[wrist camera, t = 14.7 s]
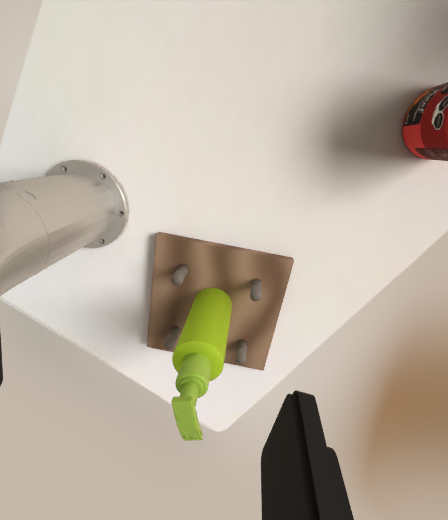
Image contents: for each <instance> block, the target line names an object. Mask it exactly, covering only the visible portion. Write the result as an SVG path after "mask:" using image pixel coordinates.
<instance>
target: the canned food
mask: <svg viewBox="0 0 448 520" xmlns="http://www.w3.org/2000/svg"><path fill="white" fill-rule="evenodd" d="M402 135H403V140H404V142H405V144H406V146H407V147H408V149H409V150H410V151H411V152H412V153H413V154H415V155H416V156H418V157H420V158H424V159H431V160H443V161H448V83H445V84H442V85H439V86H436V87H434V88H432V89H429V90H428V91H426V92H425V93H423V94H422V95H421V96H420V97H418V98H417V99H416V100H415V102H414V103H413V104H412V105H411V106H410V108H409V110H408V111H407V113H406V115H405V118H404V121H403V126H402Z"/></svg>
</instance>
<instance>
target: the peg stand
mask: <svg viewBox="0 0 448 520" xmlns="http://www.w3.org/2000/svg"><path fill="white" fill-rule="evenodd" d="M293 263H294V261H293V258H291V257H286V256H281V255H275V254H270V253H265V252H260V251H255V250H250V249H244V248H239V247H234V246H229V245H224V244H219V243H213V242H208V241H203V240H198V239H193V238H188V237H182V236H177V235H172V234H167V233H162V232H159V233H158V234H157V235H156V246H155V257H154V269H153V281H152V292H151V304H150V316H149V327H148V339H147V347H151V348H156V349H161V350H166V351H171V352H174V351H175V348H176V346H177V343H178V341H179V338H180V336H181V333H182V330H183V328H184V325H185V323H186V320H187V318H188V315H189V313H190V310H191V308H192V305H193V303H194V300H195V297H196V296H197V294H198V293H199V292H200V291H202V290H203V289H206V288H218V289H221V290H223V291H224V292H225V293H227V294H228V296H229V297H230V299H231V302H232V310H231V317H230V324H229V331H228V338H227V345H226V352H225V358H224V363H229V364H234V365H239V366H243V367H248V368H253V369H258V370H264V366H265V363H266V359H267V356H268V352H269V348H270V345H271V341H272V338H273V334H274V331H275V327H276V323H277V320H278V316H279V313H280V309H281V306H282V302H283V298H284V295H285V291H286V288H287V284H288V281H289V277H290V273H291V270H292V266H293Z"/></svg>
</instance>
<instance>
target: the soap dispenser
mask: <svg viewBox="0 0 448 520" xmlns="http://www.w3.org/2000/svg"><path fill="white" fill-rule="evenodd" d="M231 310H232V302H231V299H230V297H229V296H228V294H227V293H225V292H224V291H223V290H221V289H218V288H206V289H203V290H202V291H200V292H199V293H198V294H197V296H196V297H195V300H194V303H193V305H192V308H191V310H190V313H189V315H188V318H187V320H186V323H185V325H184V328H183V330H182V333H181V336H180V338H179V341H178V343H177V346H176V348H175V351H174V353H173V359H172V360H173V365H174V367H175V369H176V371H177V372H178V376H177V379H176V388H177V390H178V391H179V392H180V393H181V394H180V397H173V399H172V406H173V410H174V415H175V419H176V423H177V426H178V429H179V432H180V434H181V436H182V438H183V439H184V440H202V432H201V429H200V426H199V422H198V418H197V414H196V409H195V405H196V401H197V398H199V397H201V396H203V395H204V394H205V393H206V392H207V389H208V385H209V381H212V380H214V379H215V378H217V377H218V376H219V375H220V373H221V372H222V370H223V365H224V358H225V352H226V345H227V338H228V331H229V324H230V317H231Z"/></svg>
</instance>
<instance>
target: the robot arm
mask: <svg viewBox="0 0 448 520" xmlns="http://www.w3.org/2000/svg"><path fill="white" fill-rule="evenodd" d="M66 168H67V169H66ZM104 174H105V176H106V177H104ZM122 212H123V213H124V214H122ZM128 214H129V209H128V202H127V198H126V195H125V192H124V190H123V188H122V186H121V185H120V183H119V182H118V180H117V179H116V178H115V177H114V176H113V175H112V174H111V173H110V172H109V171H107V170H106V169H105V168H103V167H102V166H100V165H98V164H96V163H93V162H89V161H84V160H72V161H67V162H63V163H61V164H59V165H57V166H56V167H55V168H53V169H52V170H51V171H50V172H49V174H48V175H47V176H46V177H39V178H32V179H25V180H18V181H9V182H4V183H0V296H1V295H2V294H4V293H5V292H7V291H8V290H10V289H12V288H13V287H15V286H16V285H18V284H20V283H21V282H23V281H25V280H26V279H28V278H30V277H32V276H33V275H35V274H37V273H39V272H40V271H42V270H44V269H46V268H47V267H49V266H51V265H53V264H54V263H56V262H58V261H59V260H61V259H63V258H65V257H66V256H68V255H70V254H71V253H73V252H75V251H77V250H78V249H80V248H82V247H87V248H98V247H102V246H106V245H108V244H110V243H111V242H113V241H114V240H116V239H117V238H118V237H119V236H120V235H121V234H122V232H123V231H124V229H125V227H126V224H127V221H128ZM2 371H3V370H2V352H1V336H0V385H1V384H2V381H3V372H2ZM261 486H262V487H261V492H262V520H354V519H353V515H352V511H351V507H350V504H349V500H348V496H347V492H346V488H345V485H344V481H343V477H342V474H341V470H340V466H339V462H338V458H337V456H336V453H335V451H334V450H333V449H332V448H330V447H327V446H326V442H325V437H324V433H323V429H322V425H321V420H320V416H319V412H318V408H317V404H316V400H315V397H314V396H313V395H311V394H307V393H303V392H299V391H294V392H293V394H288V395H287V396H286V398H285V400H284V403H283V405H282V407H281V409H280V412H279V414H278V417H277V418H276V421H275V423H274V425H273V427H272V430H271V433H270V434H269V437H268V439H267V441H266V443H265V446H264V448H263V451H262V456H261Z"/></svg>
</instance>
